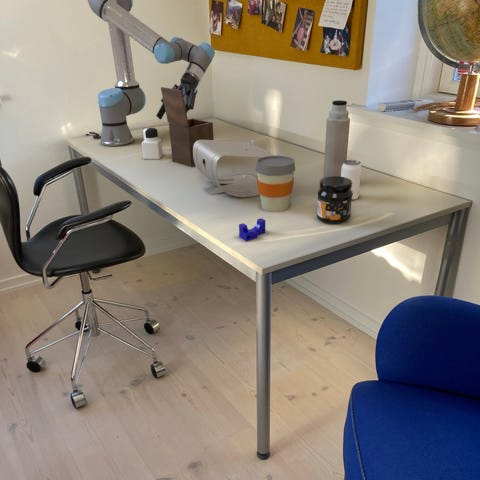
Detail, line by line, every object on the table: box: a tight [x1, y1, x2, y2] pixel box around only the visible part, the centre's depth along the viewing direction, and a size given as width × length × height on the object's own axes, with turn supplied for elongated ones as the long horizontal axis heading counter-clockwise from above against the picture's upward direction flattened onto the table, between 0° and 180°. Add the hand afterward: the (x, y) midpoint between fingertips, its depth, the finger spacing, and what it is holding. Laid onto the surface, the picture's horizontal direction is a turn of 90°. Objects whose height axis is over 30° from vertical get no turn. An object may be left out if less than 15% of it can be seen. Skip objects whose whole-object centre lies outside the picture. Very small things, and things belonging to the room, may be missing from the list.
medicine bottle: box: [141, 127, 164, 160], centre depth 224 cm, size 7×7×12 cm
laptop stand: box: [193, 139, 280, 198], centre depth 185 cm, size 26×24×16 cm
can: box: [341, 159, 362, 201], centre depth 174 cm, size 6×6×12 cm
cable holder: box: [238, 217, 266, 242], centre depth 151 cm, size 8×4×4 cm, turn 124°
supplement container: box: [316, 176, 353, 225], centre depth 158 cm, size 10×10×12 cm
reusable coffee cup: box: [255, 155, 296, 212], centre depth 168 cm, size 12×13×15 cm
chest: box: [168, 117, 215, 168], centre depth 216 cm, size 13×13×15 cm
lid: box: [160, 86, 189, 127], centre depth 204 cm, size 14×13×1 cm
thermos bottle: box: [322, 99, 351, 179], centre depth 184 cm, size 8×8×28 cm
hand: (167, 119), depth 225 cm, fingers open, 13 cm apart
